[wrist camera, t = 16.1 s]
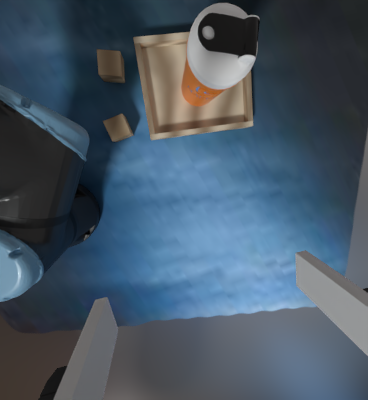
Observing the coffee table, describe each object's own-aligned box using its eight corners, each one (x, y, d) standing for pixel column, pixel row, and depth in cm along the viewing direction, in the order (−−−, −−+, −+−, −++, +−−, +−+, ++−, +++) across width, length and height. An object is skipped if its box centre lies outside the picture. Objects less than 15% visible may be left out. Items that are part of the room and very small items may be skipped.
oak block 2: (116, 142, 43) (112, 141, 39) (108, 123, 42) (102, 121, 38) (133, 135, 43) (131, 133, 39) (125, 116, 42) (122, 113, 38)
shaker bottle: (173, 65, 39) (187, -15, 20) (217, 61, 40) (269, -19, 21) (179, 113, 42) (195, 82, 22) (220, 109, 42) (270, 75, 23)
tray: (151, 140, 43) (150, 139, 40) (135, 45, 39) (133, 37, 36) (247, 127, 45) (253, 125, 42) (242, 35, 40) (249, 26, 38)
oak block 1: (104, 81, 40) (98, 74, 36) (103, 59, 39) (96, 49, 35) (125, 83, 40) (121, 76, 36) (123, 60, 39) (119, 50, 35)
